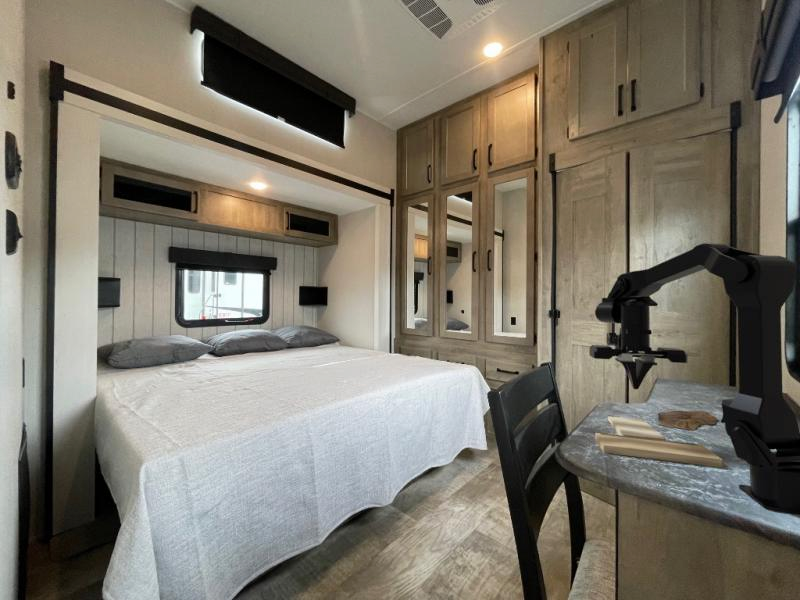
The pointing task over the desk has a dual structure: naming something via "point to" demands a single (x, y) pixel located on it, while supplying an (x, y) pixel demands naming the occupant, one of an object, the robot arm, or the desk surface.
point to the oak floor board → (657, 449)
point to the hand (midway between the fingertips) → (635, 388)
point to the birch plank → (634, 428)
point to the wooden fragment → (685, 419)
